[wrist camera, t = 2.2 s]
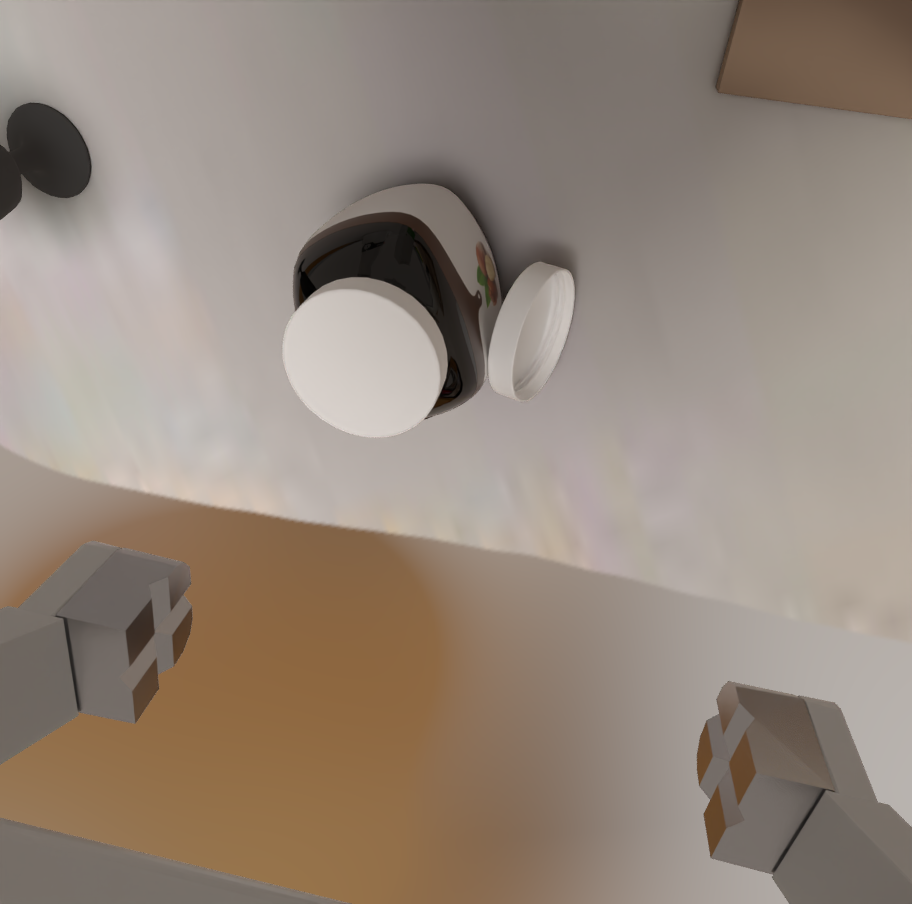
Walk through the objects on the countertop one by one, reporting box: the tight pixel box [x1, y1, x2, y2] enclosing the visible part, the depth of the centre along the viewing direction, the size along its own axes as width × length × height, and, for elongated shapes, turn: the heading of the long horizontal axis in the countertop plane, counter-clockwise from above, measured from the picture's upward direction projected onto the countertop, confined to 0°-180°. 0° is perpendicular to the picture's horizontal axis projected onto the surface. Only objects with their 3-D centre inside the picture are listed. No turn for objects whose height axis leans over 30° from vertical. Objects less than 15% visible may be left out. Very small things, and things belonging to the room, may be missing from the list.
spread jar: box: [282, 184, 575, 438], centre depth 35 cm, size 12×11×12 cm
